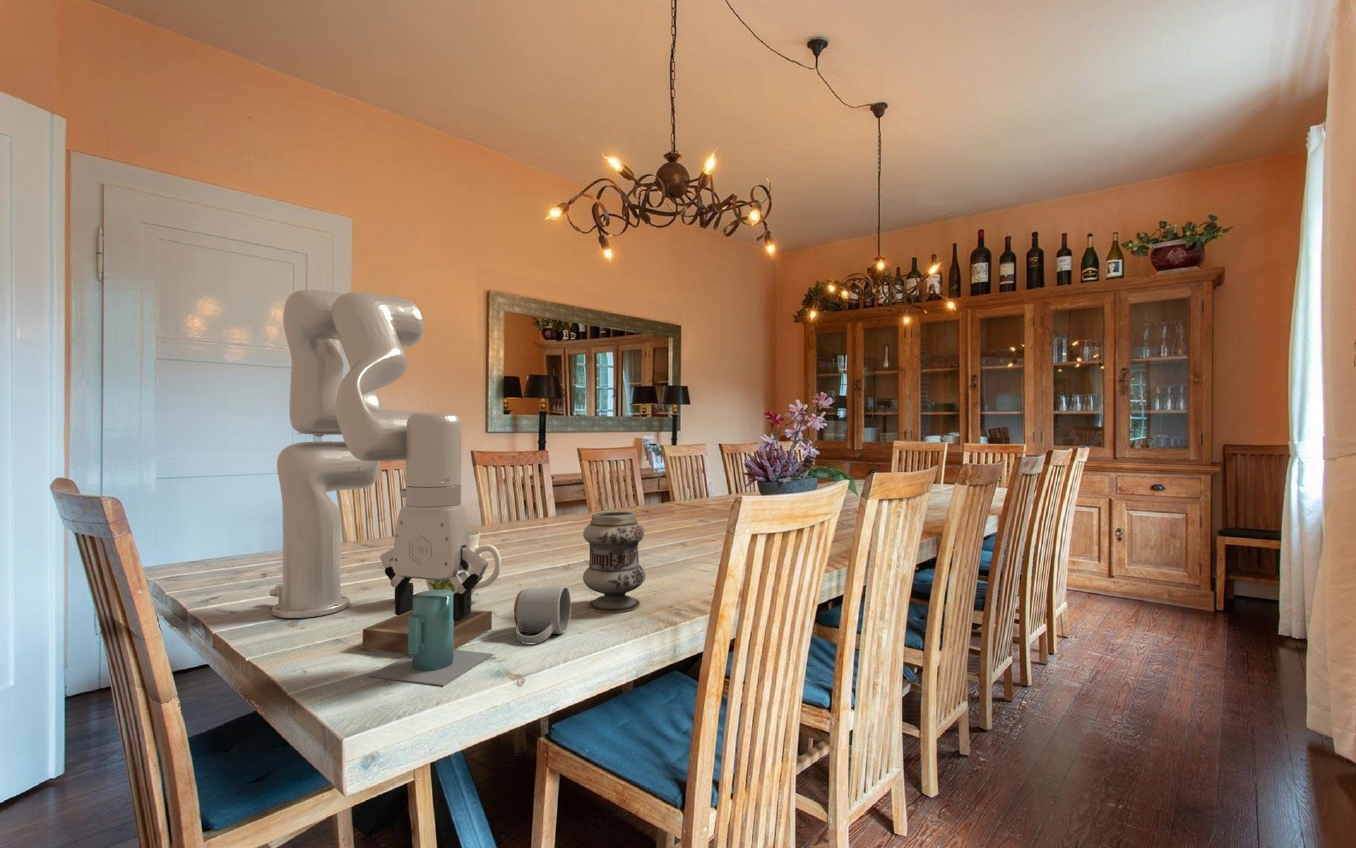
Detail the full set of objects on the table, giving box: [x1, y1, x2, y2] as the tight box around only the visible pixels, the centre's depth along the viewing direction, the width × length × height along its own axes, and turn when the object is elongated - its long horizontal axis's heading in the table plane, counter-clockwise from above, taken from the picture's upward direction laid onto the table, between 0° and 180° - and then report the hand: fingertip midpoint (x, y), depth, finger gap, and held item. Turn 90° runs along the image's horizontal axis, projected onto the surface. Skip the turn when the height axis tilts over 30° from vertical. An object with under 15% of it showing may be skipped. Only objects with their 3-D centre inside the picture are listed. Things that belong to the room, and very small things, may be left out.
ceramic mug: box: [513, 585, 572, 644], centre depth 105 cm, size 11×8×8 cm
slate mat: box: [367, 649, 494, 687], centre depth 91 cm, size 12×12×1 cm
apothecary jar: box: [582, 510, 646, 614], centre depth 122 cm, size 12×12×18 cm
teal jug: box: [407, 589, 454, 671], centre depth 91 cm, size 7×6×10 cm
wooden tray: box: [362, 609, 493, 655], centre depth 103 cm, size 14×14×3 cm
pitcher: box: [425, 528, 502, 597], centre depth 127 cm, size 11×18×14 cm, turn 82°
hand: (432, 615), depth 92 cm, fingers open, 9 cm apart
